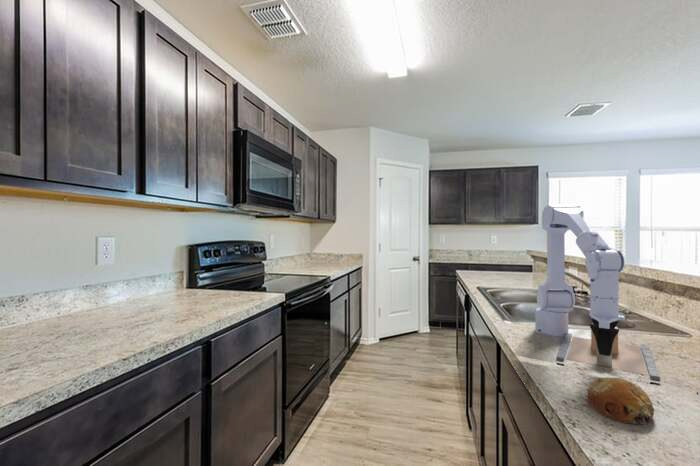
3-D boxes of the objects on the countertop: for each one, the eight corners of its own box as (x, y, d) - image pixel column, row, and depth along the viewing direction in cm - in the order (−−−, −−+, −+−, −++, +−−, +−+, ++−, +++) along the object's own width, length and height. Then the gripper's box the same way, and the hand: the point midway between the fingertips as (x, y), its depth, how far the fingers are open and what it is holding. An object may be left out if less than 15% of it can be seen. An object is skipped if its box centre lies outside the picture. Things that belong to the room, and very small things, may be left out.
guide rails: (556, 364, 87) (556, 356, 87) (565, 339, 108) (565, 332, 108) (660, 385, 75) (660, 376, 75) (648, 352, 95) (648, 345, 95)
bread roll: (643, 425, 66) (634, 382, 69) (671, 430, 57) (659, 379, 60) (584, 416, 69) (579, 375, 72) (602, 419, 60) (595, 372, 63)
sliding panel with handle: (566, 363, 87) (566, 340, 87) (573, 339, 106) (573, 321, 106) (647, 379, 78) (647, 353, 78) (639, 350, 97) (639, 329, 97)
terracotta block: (591, 349, 95) (591, 328, 95) (591, 343, 99) (591, 323, 99) (618, 354, 91) (618, 332, 91) (617, 348, 96) (617, 327, 96)
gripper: (626, 303, 76) (626, 362, 76) (623, 294, 87) (623, 345, 87) (588, 300, 80) (588, 356, 80) (590, 291, 92) (590, 340, 92)
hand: (604, 350), depth 84 cm, fingers open, 7 cm apart
